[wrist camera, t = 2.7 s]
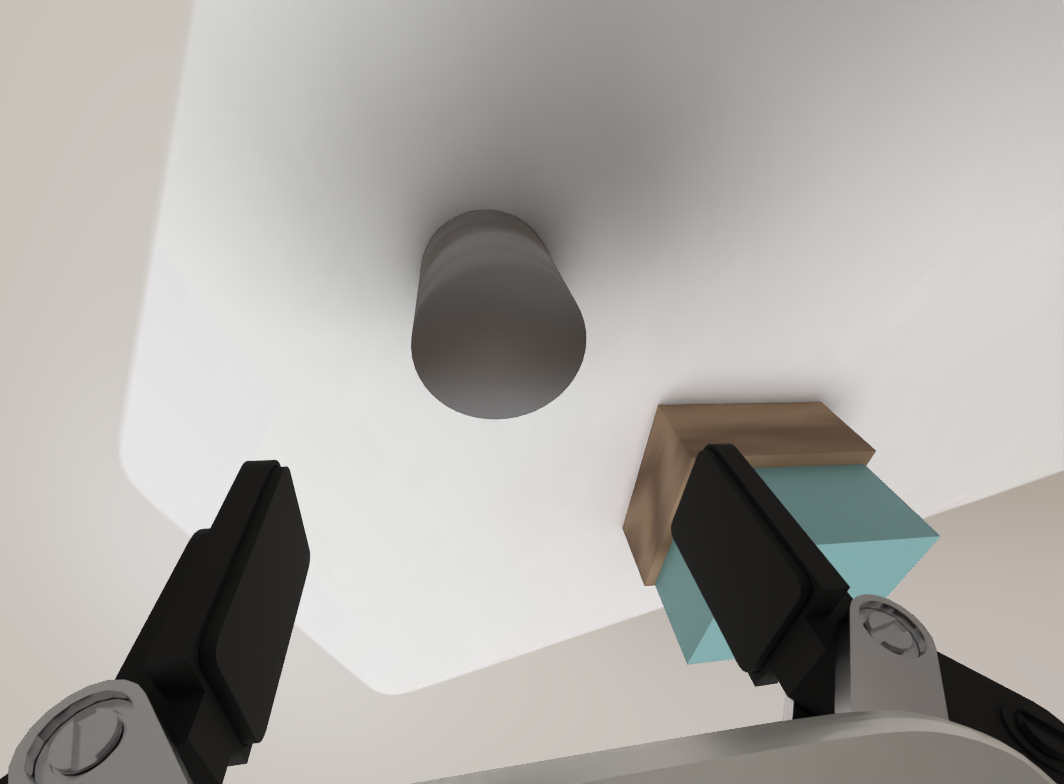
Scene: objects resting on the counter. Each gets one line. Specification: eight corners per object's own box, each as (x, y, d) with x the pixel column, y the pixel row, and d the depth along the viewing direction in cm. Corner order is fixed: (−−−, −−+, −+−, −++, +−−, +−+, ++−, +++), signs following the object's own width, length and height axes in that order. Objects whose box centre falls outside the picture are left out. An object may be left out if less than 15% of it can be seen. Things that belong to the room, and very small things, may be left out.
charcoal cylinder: (418, 204, 20) (406, 259, 14) (557, 214, 21) (600, 269, 15) (422, 333, 23) (414, 420, 17) (542, 335, 24) (572, 418, 18)
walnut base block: (656, 401, 28) (691, 458, 24) (817, 398, 30) (876, 450, 26) (621, 524, 34) (644, 586, 30) (756, 515, 36) (796, 572, 32)
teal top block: (701, 469, 24) (751, 549, 20) (863, 464, 26) (940, 536, 22) (654, 583, 30) (687, 664, 26) (792, 572, 32) (842, 646, 28)
